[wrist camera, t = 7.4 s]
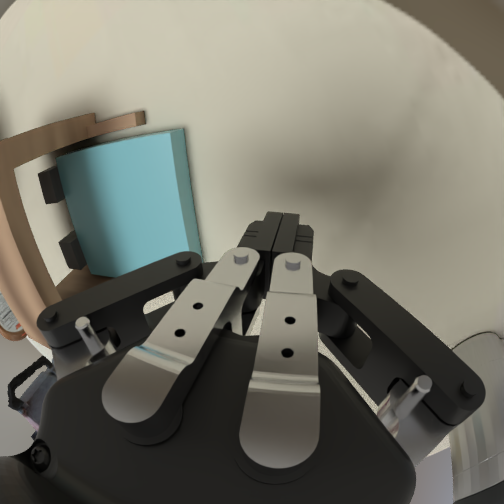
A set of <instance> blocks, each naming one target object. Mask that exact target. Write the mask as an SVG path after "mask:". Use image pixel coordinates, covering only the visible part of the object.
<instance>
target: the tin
mask: <svg viewBox="0 0 504 504" xmlns="http://www.w3.org/2000/svg"><path fill="white" fill-rule="evenodd" d="M0 333H1V334H2V336H4V337H5V338H6V339H8V340H11V341H19V340H22V339H23V338H25V337H26V336H27V334H26V332H25V331H24V329H23V328H22V326H21V325H20V323H19V322H18V320H17V318H16V317H15V315H14V314H13V312H12V310H11V309H10V307H9V305H8V304H7V302H6V300H5V298H4V296H3V295H2V293H1V291H0Z"/></svg>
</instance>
